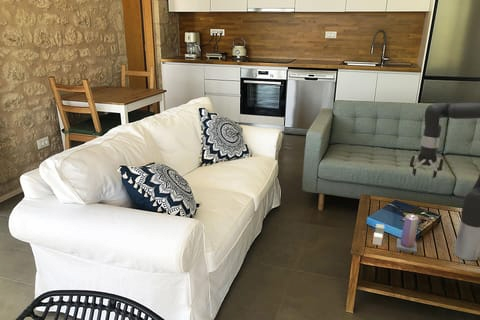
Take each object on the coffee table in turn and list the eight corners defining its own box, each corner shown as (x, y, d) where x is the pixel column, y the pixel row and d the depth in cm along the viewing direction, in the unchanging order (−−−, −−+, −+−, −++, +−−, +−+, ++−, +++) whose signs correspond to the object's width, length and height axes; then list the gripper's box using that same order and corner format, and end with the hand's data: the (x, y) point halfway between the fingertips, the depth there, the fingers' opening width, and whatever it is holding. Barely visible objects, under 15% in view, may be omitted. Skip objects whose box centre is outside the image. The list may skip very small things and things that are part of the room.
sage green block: (383, 232, 202) (384, 225, 200) (383, 236, 198) (384, 228, 197) (375, 231, 203) (376, 223, 202) (374, 234, 200) (375, 227, 198)
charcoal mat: (416, 243, 192) (416, 241, 191) (416, 253, 184) (417, 251, 183) (396, 240, 195) (396, 238, 194) (396, 249, 187) (396, 247, 186)
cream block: (381, 241, 193) (382, 233, 192) (381, 245, 190) (382, 237, 188) (373, 240, 194) (374, 232, 193) (372, 244, 191) (373, 236, 189)
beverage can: (399, 245, 187) (404, 218, 182) (401, 240, 192) (406, 213, 187) (413, 249, 185) (418, 221, 180) (414, 243, 190) (419, 215, 185)
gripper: (445, 144, 187) (438, 176, 192) (413, 141, 191) (407, 171, 197) (447, 149, 180) (440, 181, 185) (414, 145, 184) (408, 177, 190)
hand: (423, 176), depth 191 cm, fingers open, 8 cm apart
